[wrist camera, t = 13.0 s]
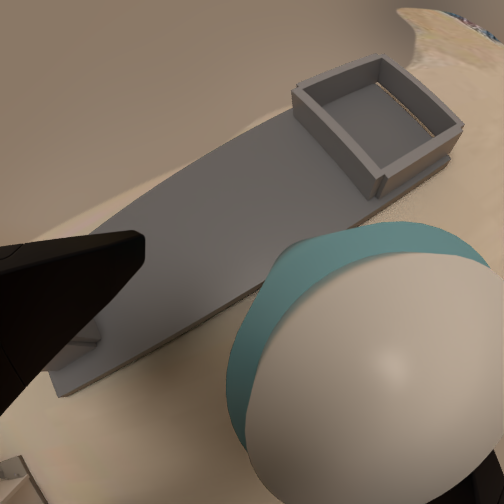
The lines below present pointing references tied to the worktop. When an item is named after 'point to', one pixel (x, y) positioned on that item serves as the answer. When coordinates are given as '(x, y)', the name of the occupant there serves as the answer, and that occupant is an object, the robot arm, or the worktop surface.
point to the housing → (262, 206)
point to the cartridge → (370, 367)
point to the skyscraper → (18, 484)
